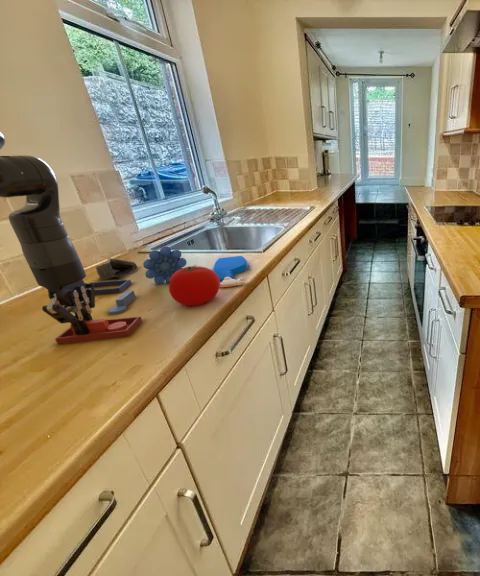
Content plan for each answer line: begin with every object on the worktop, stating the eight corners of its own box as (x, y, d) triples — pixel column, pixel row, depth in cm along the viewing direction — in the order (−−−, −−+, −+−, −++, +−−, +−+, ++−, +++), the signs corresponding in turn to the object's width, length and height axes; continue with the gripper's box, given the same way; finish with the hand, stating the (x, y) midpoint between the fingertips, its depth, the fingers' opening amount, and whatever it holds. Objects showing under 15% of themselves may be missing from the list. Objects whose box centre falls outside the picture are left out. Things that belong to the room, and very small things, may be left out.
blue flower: (192, 275, 107) (183, 241, 102) (191, 283, 101) (181, 246, 97) (151, 281, 103) (140, 245, 98) (147, 289, 97) (135, 251, 92)
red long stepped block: (130, 325, 76) (127, 314, 75) (123, 332, 73) (119, 322, 72) (81, 330, 74) (77, 319, 73) (71, 338, 71) (66, 327, 70)
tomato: (178, 297, 92) (168, 263, 87) (224, 291, 96) (217, 257, 91) (170, 314, 82) (158, 277, 78) (221, 307, 86) (213, 270, 82)
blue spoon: (123, 314, 82) (119, 305, 81) (107, 316, 81) (103, 306, 80) (140, 298, 91) (137, 289, 90) (126, 299, 90) (123, 291, 89)
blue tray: (67, 299, 91) (64, 292, 90) (82, 289, 97) (79, 283, 97) (121, 294, 94) (118, 288, 93) (132, 285, 100) (130, 279, 99)
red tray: (58, 346, 69) (54, 338, 68) (78, 330, 75) (75, 322, 75) (129, 338, 72) (126, 330, 71) (143, 323, 78) (140, 316, 77)
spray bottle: (213, 258, 115) (209, 283, 94) (246, 254, 118) (248, 278, 98) (215, 266, 116) (211, 292, 95) (247, 262, 120) (250, 286, 99)
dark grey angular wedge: (118, 270, 113) (86, 255, 102) (138, 263, 114) (107, 248, 102) (119, 294, 110) (86, 281, 99) (139, 287, 110) (108, 274, 99)
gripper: (55, 251, 71) (85, 319, 78) (4, 273, 59) (45, 351, 66) (94, 249, 72) (120, 315, 79) (52, 269, 60) (88, 346, 67)
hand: (86, 331), depth 73 cm, fingers closed on red long stepped block
